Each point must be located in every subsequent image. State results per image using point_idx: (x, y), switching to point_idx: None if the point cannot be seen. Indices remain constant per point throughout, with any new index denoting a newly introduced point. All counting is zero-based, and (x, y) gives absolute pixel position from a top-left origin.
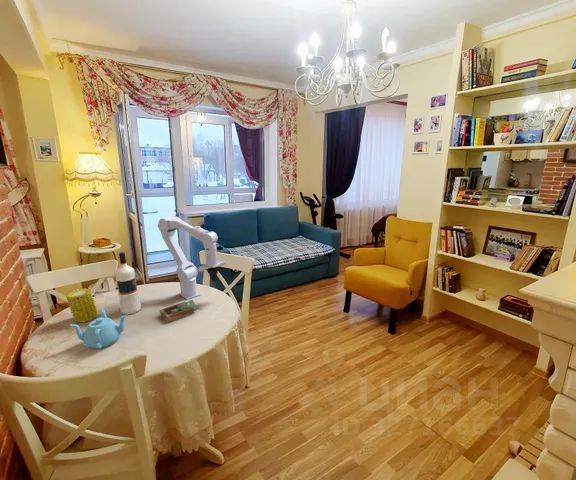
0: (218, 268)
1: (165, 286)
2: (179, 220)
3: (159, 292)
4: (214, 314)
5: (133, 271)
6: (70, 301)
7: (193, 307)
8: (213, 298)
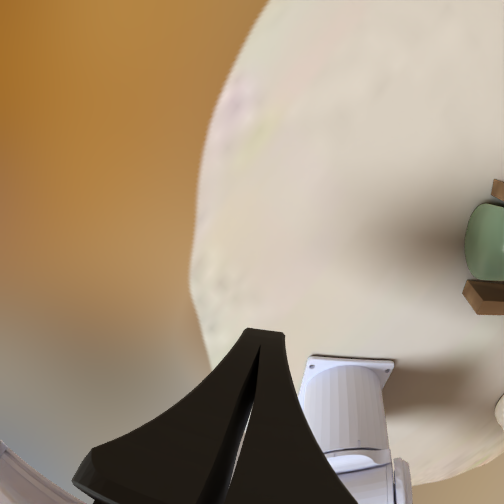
0: (86, 483)
1: None
2: None
3: None
4: (428, 49)
5: None
6: None
7: (502, 207)
8: (284, 259)
